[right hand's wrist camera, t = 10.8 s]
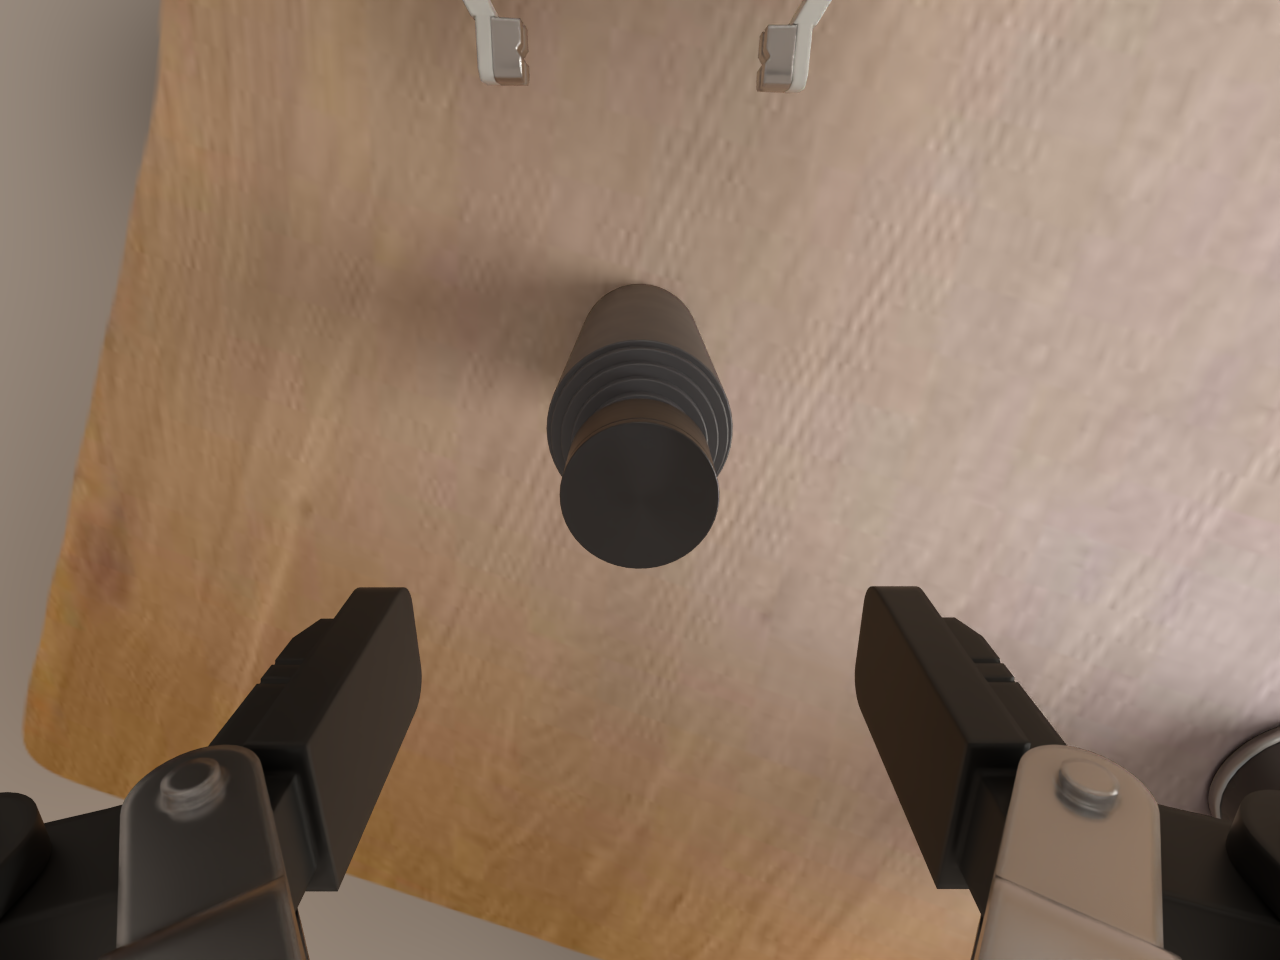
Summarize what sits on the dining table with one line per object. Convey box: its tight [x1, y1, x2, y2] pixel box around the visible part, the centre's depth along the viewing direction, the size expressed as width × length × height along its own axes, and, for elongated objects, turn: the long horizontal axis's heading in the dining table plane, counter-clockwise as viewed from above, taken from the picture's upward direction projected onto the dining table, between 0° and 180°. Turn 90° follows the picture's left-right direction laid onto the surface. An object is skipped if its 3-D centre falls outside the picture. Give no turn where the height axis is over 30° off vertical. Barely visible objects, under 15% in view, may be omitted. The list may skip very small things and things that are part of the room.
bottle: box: [547, 284, 733, 476], centre depth 26 cm, size 6×6×18 cm
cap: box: [560, 398, 719, 569], centre depth 18 cm, size 4×4×2 cm
